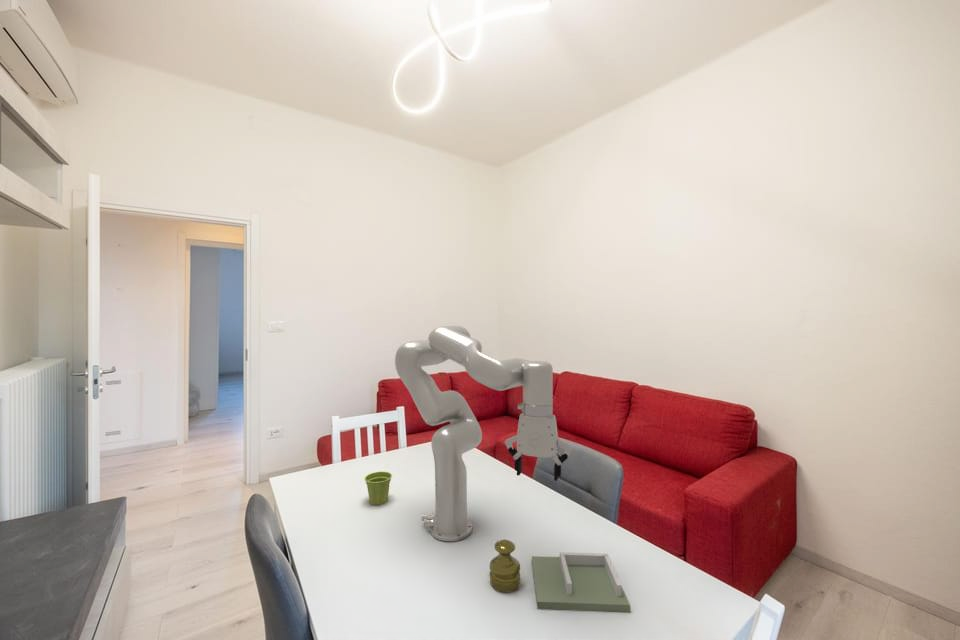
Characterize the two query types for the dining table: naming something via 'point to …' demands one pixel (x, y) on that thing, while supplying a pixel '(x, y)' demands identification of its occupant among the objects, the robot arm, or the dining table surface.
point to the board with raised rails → (578, 583)
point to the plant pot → (378, 487)
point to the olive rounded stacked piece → (504, 568)
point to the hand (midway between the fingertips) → (537, 476)
